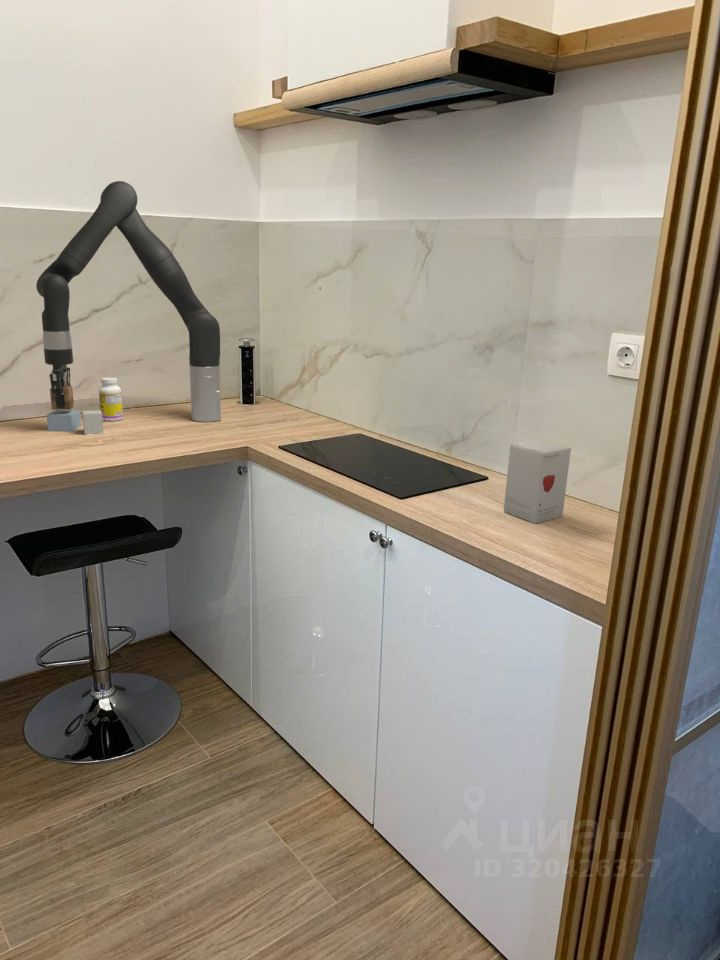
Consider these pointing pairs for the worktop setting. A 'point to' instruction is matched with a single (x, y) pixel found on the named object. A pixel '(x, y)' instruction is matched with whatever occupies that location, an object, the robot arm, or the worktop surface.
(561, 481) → the supplement box
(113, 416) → the supplement bottle
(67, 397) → the walnut block
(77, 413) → the base block
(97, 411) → the grey block
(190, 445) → the worktop surface
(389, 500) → the worktop surface
